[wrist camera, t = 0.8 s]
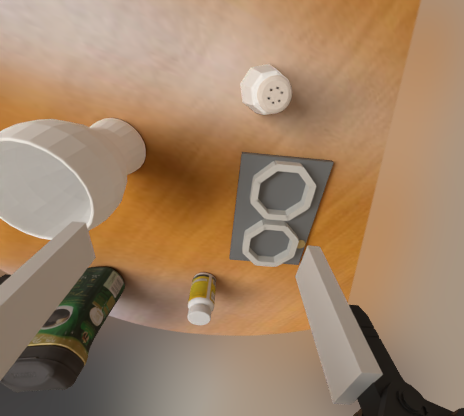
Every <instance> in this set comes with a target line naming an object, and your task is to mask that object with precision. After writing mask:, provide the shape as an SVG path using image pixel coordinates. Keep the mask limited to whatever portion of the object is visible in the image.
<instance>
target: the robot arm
mask: <svg viewBox="0 0 464 416" xmlns="http://www.w3.org/2000/svg"><path fill="white" fill-rule="evenodd" d="M95 258H96V257H95V254H94V250H93V246H92V243H91V239H90V236H89V232H88V229H87V225H86V223H84V222H74V221H72V222H71V223H70V224H69V225H67V226H66V227H65V228H64V229H63V230H62V231H61V232H60V233H58V234H57V235H56V236H55V237H54V238H53V239H52V240H51V241H49V242H48V243H47V244H46V245H45V246H44V247H43V248H42V249H40V250H39V251H38V252H37V253H36V254H35V255H34V256H33V257H31V258H30V259H29V260H28V261H27V262H26V263H25V264H23V265H22V266H21V267H20V268H19V269H18V270H17V271H16V272H14V273H13V274H12V275H4V276H2V277H0V381H1V379H2V378H3V377H4V376H5V374H6V373H7V372H8V370H9V369H10V368H11V366H12V365H13V364H14V363H15V361H16V360H17V359H18V357H19V356H20V355H21V354H22V352H23V351H24V350H25V348H26V347H27V346H28V344H29V343H30V342H31V341H32V339H33V338H34V337H35V335H36V334H37V333H38V332H39V330H40V329H41V328H42V326H43V325H44V324H45V322H46V321H47V320H48V319H49V317H50V316H51V315H52V313H53V312H54V311H55V310H56V308H57V307H58V306H59V304H60V303H61V302H62V300H63V299H64V298H65V297H66V295H67V294H68V293H69V291H70V290H71V289H72V288H73V286H74V285H75V284H76V282H77V281H78V280H79V278H80V277H81V276H82V275H83V273H84V272H85V271H86V269H87V268H88V267H89V266H90V264H91V263H92V262H93V260H94V259H95ZM295 277H296V280H297V284H298V287H299V290H300V294H301V297H302V300H303V304H304V307H305V310H306V314H307V317H308V320H309V324H310V327H311V331H312V334H313V337H314V341H315V344H316V347H317V351H318V354H319V357H320V361H321V364H322V367H323V371H324V374H325V377H326V381H327V384H328V388H329V391H330V394H331V397H332V401H333V403H334V404H349V405H351V404H352V403H353V402H354V401H356V400H357V399H358V402H359V404H360V407H361V409H360V410H359V411H358V412H356V413H355V414H354V415H353V416H464V408H461V409H458V410H456V411H455V412H452V411H450V410H448V409H445V408H443V407H440V406H438V405H436V404H434V403H431V402H429V401H427V400H425V399H424V398H423V397H422V395H421V394H420V393H419V392H418V391H417V390H416V389H414V388H413V387H412V386H411V385H409V384H407V383H406V382H405V381H404V380H403V378H402V377H401V375H400V374H399V372H398V370H397V368H396V366H395V365H394V363H393V361H392V359H391V357H390V355H389V354H388V352H387V350H386V348H385V347H384V345H383V343H382V341H381V339H379V336H378V334H377V332H376V330H375V329H374V326H373V325H372V323H371V321H370V319H369V317H368V316H367V315H366V313H365V312H364V311H363V310H362V309H361V308H360V307H359V306H357V305H348V303H347V301H346V299H345V297H344V295H343V292H342V290H341V288H340V286H339V284H338V282H337V280H336V278H335V276H334V274H333V272H332V270H331V268H330V266H329V264H328V262H327V260H326V258H325V256H324V254H323V252H322V250H321V248H320V247H318V246H307V248H306V251H305V253H304V256H303V258H302V261H301V264H300V266H299V269H298V271H297V274H296V276H295Z"/></svg>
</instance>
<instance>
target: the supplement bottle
mask: <svg viewBox="0 0 464 416" xmlns="http://www.w3.org/2000/svg"><path fill="white" fill-rule="evenodd" d="M215 289H216V279H215V277H214V276H213V275H211V274H209V273H205V272H202V273H198V274H196V275H195V276H194V278H193V281H192V286H191V291H190V296H189V301H188V309H189V311H188V320H189V322H191V323H192V324H195V325H205V324H207V323H209V322H210V319H211V312H212V311H213V309H214V301H215Z"/></svg>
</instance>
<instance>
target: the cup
mask: <svg viewBox="0 0 464 416" xmlns="http://www.w3.org/2000/svg"><path fill="white" fill-rule="evenodd" d="M145 157H146V148H145V144H144V141H143V140H142V138H141V136H140V134H139V133H138V132H137V131H136V130H135V128H133V127H132V126H131V125H129V124H128V123H126V122H124V121H122V120H119V119H115V118H105V119H102V120H100V121H98V122H96V123H94V124H93V125H92V126H90V127H87V126H85V125H82V124H77V123H73V122H67V121H61V120H55V119H43V120H34V121H29V122H24V123H19V124H16V125H13V126H11V127H9V128H6V129H4V130H2V131H0V218H1V219H2V220H4V221H5V222H6V223H8V224H9V225H11V226H12V227H14V228H16V229H18V230H20V231H22V232H24V233H26V234H29V235H32V236H35V237H38V238H43V239H49V240H52V239H53V238H54V237H55V236H56V235H57V234H58V233H60V232H61V231H62V230H63V229H64V228H65V227H66V226H67V225H69V224H70V223H71V222H72V221H74V222H84V223H86V225H87V229H88V231H89V230H91V229H93V228H94V227H96V226H98V225H99V224H101V223H102V222H104V221H105V220H106V219H107V218H108V217H109V216H110V215H111V214H112V213H113V212H114V211H115V209H116V208H117V207H118V205H119V204H120V203H121V201H122V197H123V194H124V190H125V187H126V183H127V175H128V174H131V173H133V172H134V171H136V170H137V169H139V168H140V167H141V166H142V164H143V163H144V160H145Z"/></svg>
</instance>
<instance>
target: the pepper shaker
mask: <svg viewBox="0 0 464 416" xmlns="http://www.w3.org/2000/svg"><path fill="white" fill-rule="evenodd" d="M240 86H241V94H242V101H243V103H244V104H245V105H247V106H248V107H249V108H250V109H251V110H253V111H254V112H255V113H258V114H262V115H267V114H276V113H279V112H282V111H283V110H284V109H286V107H287V106H288V105H289V103H290V101H291V98H292V87H291V84H290V82H289V80H288V79H287V78H286V77H285V76H284V75H283V74H281V73H280V72H279V71H278V70H277V69H276V68H274V67H273V66H271V65H269V64H265V65H260V66H255V67H251V68H250V69H249V71H248V72H247V74H246V76H245V77H244V79H243V80H242V82H241V83H240Z"/></svg>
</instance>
